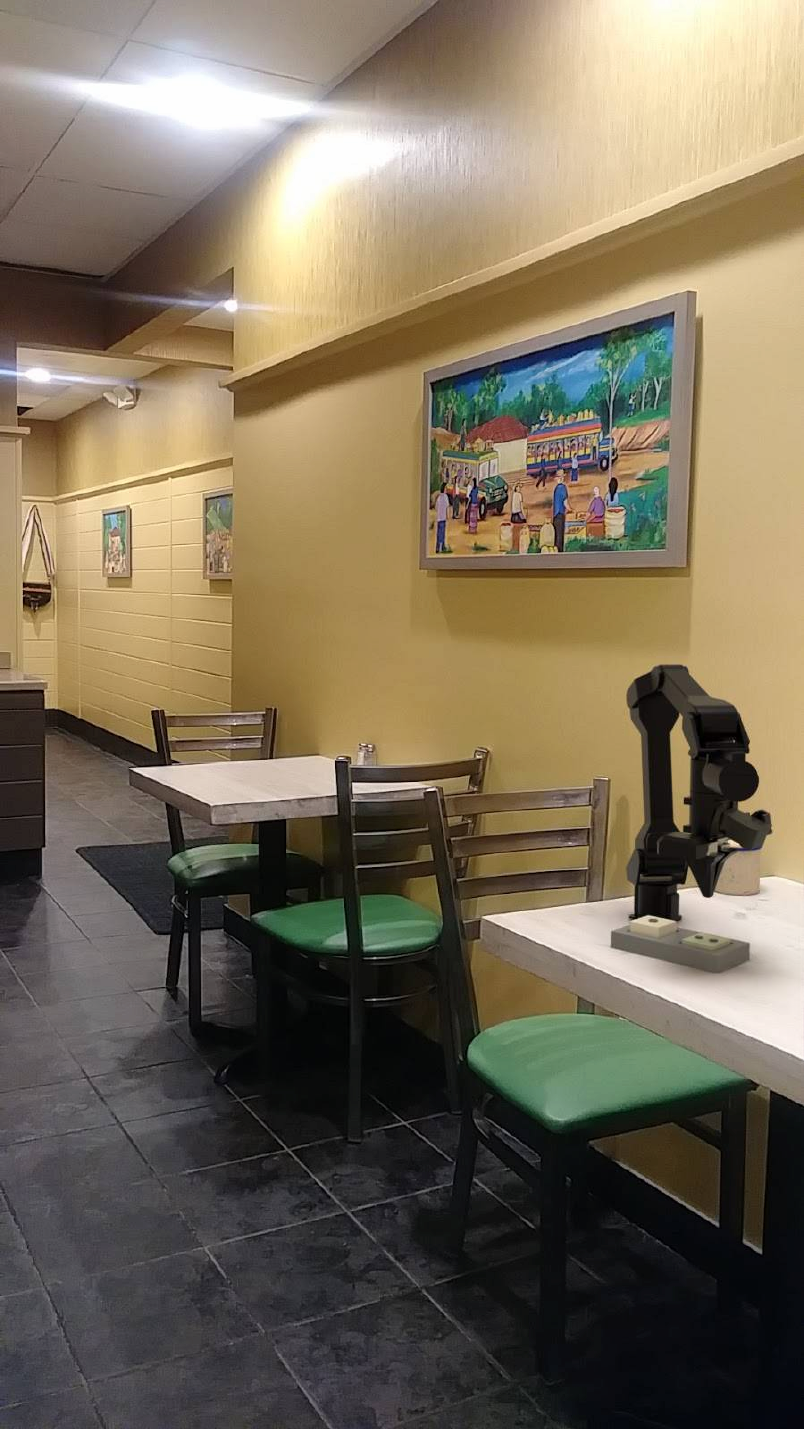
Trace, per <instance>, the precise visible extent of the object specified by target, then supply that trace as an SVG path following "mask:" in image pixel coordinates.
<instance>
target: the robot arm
mask: <svg viewBox="0 0 804 1429" xmlns="http://www.w3.org/2000/svg"><path fill="white" fill-rule="evenodd" d="M626 705H627V709H629V716H630V720H631V722H632V724H633V725H634V726H635V728H636V730H637V731H638V733H639V734H640V740H641V743H640V744H641V765H642V766H641V768H642V790H643V791H642V792H643V795H642V796H643V818H644V819H643V821H644V822H643V824H642V826H641V828H640V829H639V832H638V833H637V835H635V836H636V837H635V838H634V849H633V851H632V853H631V855H630V858H629V860H628V863H627V864H626V868H625V869H626V870H625V871H626V880H627V881H628V882H629V883H631V884H632V885H633V886H634V890H633V891H634V892H633V893H634V897H633V898H634V900H633V913H631V914H629V915H628V919H629V920H632V921H633V920H635V919H638V918H641V917H644V916H647V915H649V916H654V917H659V918H664V919H668V920H673V921H678V920H681V919H682V918H683V915H681V914H680V893H679V892H678V885H682V886H683V885H686V883H687V882H686V881H687V879H688V878H687V877H688V871H689V869H690V871H691V873H692V875H693V878H694V880H695V882H696V884H697V886H698V889H699V890H700V893H701V895H702V897H704V898H706V899H710V898H712V897H713V896H714V893H715V892H716V891H715V888H716V885H717V882H718V879H719V876H720V873H721V870H722V868H723V865H724V863H725V861H726V860H727V859H728V858H729V857H731V856H732V855H733V854H735V853H737V852H738V849H734V848H730V843H728V840H733V841H734V842H736V843H738V844H739V845H740V846H741V847H742V848H745V849H748V850H752V849H754V848H755V847H762V848H763V847H764V843H765V840H766V838H767V836H769V835H770V836H771V835H772V834H773V829H772V826H773V824H772V817H771V813H770V812H768V811H767V810H765V809H758V810H756V811H754V812H753V813H752V814H751V813H750V812H747V811H746V812H744V811H743V810H740V809H739V803H741V802H745V801H748V800H749V799H750V798H752V797H753V796H754V795H755V794H756V792H757V790H758V788H759V784H760V776H759V774H758V771H757V769H756V768H755V766H754V765H752V763H750V762H749V761H747V760H746V759H747V758H746V754H747V755H748V754H750V750H751V749H750V743H751V740H750V737H749V735H748V733H747V730H746V727H745V726H744V722H743V720H742V716H741V714H740V712H738V709H737V708H736V707H735V705H734V704H732V703H730V702H729V701H727V700H725V699H722V698H716V697H713V696H710V695H709V694H708V693H707V691H705V689H704V688H703V687H702V686H701V685H700V684H699V683H698V682H697V681H696V679H694V678H693V676H691V674H690V670H689V668H688V666H686V665H683V664H682V663H679V664H675V663H674V664H673V663H671V664H661V663H660V664H658V665H655V666H653V667H652V669H651V670H650V671H649V672H646V673H644V674H643V675H640V676H638V677H636V678H634V679H633V681H632V683H630V685H629V687H628V689H627V691H626ZM680 715H681V717H682V718H681V720H682V721H681V730H682V732H683V735H684V739H685V740H686V742H687V744H688V746H689V750H688V752H687V755H688V756H689V757H690V759H689V760H690V762H689V765H690V766H689V767H690V768H689V769H690V770H689V796H685V797H683V805H685V806H686V805H687V806H689V808H688V809H689V811H688V812H689V813H688V815H689V816H688V824H684V825H682V832H681V831H680V829H679V827H678V826H677V825H676V823H675V820H674V818H675V817H674V800H673V796H674V794H673V793H674V792H673V774H672V772H673V769H672V748H671V732H672V731H673V729H674V727H675V725H676V723H677V722H678V720H679V719H680V718H679V717H680Z"/></svg>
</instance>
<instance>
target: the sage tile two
mask: <svg viewBox="0 0 804 1429" xmlns="http://www.w3.org/2000/svg"><path fill="white" fill-rule="evenodd" d="M704 933H705V932H702V933H698V934H695V935H693V936H690V937H687V938H685V939H682V944H685V945H689V946H693V947H698V948H702V949H706V950H711V951H716V950H718V949H721V948H723V947H726V946H728V945H730V940H731V939H732V938H729V939H726V938H727V937H725V938H722V937H723V936H720V937H717V936H718V935H716V936H713V935H714V934H711V935H708V934H709V933H707V934H704Z"/></svg>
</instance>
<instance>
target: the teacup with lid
mask: <svg viewBox="0 0 804 1429" xmlns="http://www.w3.org/2000/svg"><path fill="white" fill-rule="evenodd" d="M728 843H730V848H734V849H738V852H737V853H735V854H733V855H732V856H731V857H729V858H728V859H727V860H726V861H725V863H724V865H723V868H722V870H721V873H720V876H719V879H718V882H717V885H716V888H715V891H714V892H715V893H718V894H724V895H731V896H751V895H755V894H758V893H759V892H760V891H761V890H760V888H761V887H760V886H761V853H762V848H763V846H762V847H755V848H754V849H752V850H748V849H745V848H742V847H741V846H740V845H739V844H738V843H736V842H734V841H733V840H728Z"/></svg>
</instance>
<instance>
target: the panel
mask: <svg viewBox="0 0 804 1429" xmlns="http://www.w3.org/2000/svg"><path fill="white" fill-rule="evenodd" d="M698 933H704V934H708V935H713V936H717V937H722V938H726V939H731V940H730V945H728V946H726V947H723V948H721V949H718V950H716V951H711V950H706V949H702V948H698V947H693V946H689V945H685V944H682V939H685V938H687V937H690V936H693V935H695V934H698ZM750 945H751V944H750V942H747V941H742V940H739V939H733V938H730V937H729V938H728V937H724V936H720V935H715V934H709V933H705V932H701V931H697V930H692V929H687V928H684V927H678V926H677V927H676V933H673V934H671V935H668V936H665V937H662V938H660V939H658V938H654V937H650V936H645V935H641V934H637V933H632V932H630V924H628V925H625V926H623V927H619V928H616V929H612V930H610V948H612V949H617V950H620V951H625V952H629V953H632V954H637V955H642V956H645V957H650V958H654V959H658V960H661V961H666V962H668V963H669V962H671V963H674V964H679V965H682V966H688V967H691V968H695V969H699V970H703V971H707V972H712V973H715V974H720V973H722V972H724V971H726V970H729V969H731V968H733V967H736V966H738V965H740V964H742V963H745V962H747V961H750V948H751V947H750Z"/></svg>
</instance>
